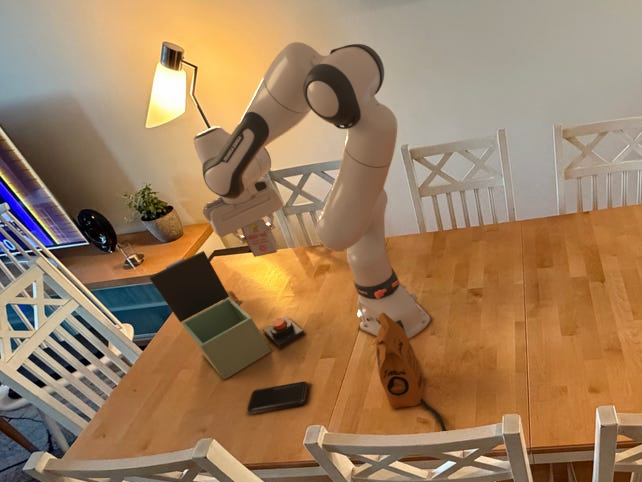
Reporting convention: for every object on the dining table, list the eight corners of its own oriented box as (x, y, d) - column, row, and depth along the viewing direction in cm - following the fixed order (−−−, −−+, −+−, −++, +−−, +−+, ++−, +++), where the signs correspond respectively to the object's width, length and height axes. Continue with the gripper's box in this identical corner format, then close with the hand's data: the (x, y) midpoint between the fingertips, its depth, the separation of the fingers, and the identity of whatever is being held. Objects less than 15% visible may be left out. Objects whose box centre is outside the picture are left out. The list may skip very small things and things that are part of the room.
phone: (303, 402, 130) (246, 411, 130) (304, 405, 131) (248, 414, 131) (307, 380, 136) (253, 389, 136) (309, 383, 136) (254, 392, 137)
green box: (271, 351, 149) (251, 317, 140) (224, 379, 142) (200, 346, 134) (248, 329, 158) (229, 297, 149) (204, 355, 152) (180, 323, 143)
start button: (288, 325, 151) (286, 321, 150) (278, 332, 150) (275, 327, 149) (283, 321, 154) (280, 316, 152) (272, 327, 152) (270, 322, 151)
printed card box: (256, 250, 152) (241, 220, 145) (278, 246, 152) (263, 215, 145) (254, 257, 149) (238, 226, 142) (276, 252, 149) (261, 221, 142)
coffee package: (385, 413, 125) (359, 348, 110) (388, 377, 134) (364, 313, 119) (425, 407, 125) (404, 341, 110) (425, 371, 134) (405, 306, 119)
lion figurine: (250, 319, 162) (237, 296, 156) (234, 326, 160) (220, 304, 154) (239, 298, 172) (226, 277, 165) (223, 305, 170) (210, 283, 164)
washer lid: (204, 252, 136) (197, 244, 138) (149, 278, 129) (143, 270, 131) (229, 296, 149) (222, 289, 151) (180, 322, 142) (173, 314, 144)
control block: (304, 334, 152) (300, 326, 150) (281, 349, 149) (276, 340, 147) (288, 320, 159) (283, 311, 156) (265, 333, 155) (260, 325, 153)
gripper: (203, 209, 131) (229, 255, 141) (273, 178, 140) (293, 223, 149) (195, 203, 135) (221, 248, 144) (263, 173, 144) (284, 217, 153)
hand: (258, 235), depth 147 cm, fingers closed on printed card box, 7 cm apart
